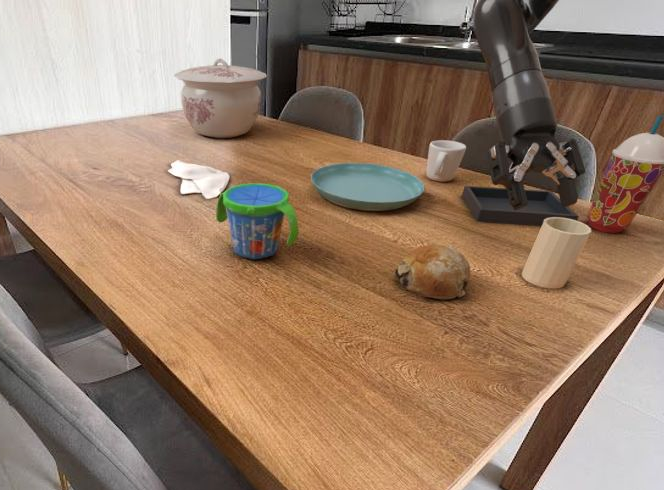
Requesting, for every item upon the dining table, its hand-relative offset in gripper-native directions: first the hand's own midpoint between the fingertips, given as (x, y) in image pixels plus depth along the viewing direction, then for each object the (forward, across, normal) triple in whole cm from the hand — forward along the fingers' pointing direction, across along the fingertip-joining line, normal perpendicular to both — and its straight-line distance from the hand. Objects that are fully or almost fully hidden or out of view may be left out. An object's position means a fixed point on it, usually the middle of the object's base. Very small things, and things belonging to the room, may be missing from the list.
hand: (545, 206), depth 69 cm
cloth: (-28, -48, +42) cm, 70 cm away
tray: (-7, +13, +21) cm, 26 cm away
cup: (-21, +8, +36) cm, 42 cm away
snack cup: (-1, -43, +15) cm, 46 cm away
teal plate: (-17, -14, +31) cm, 38 cm away
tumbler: (+10, 0, +4) cm, 11 cm away
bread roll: (+10, -19, +5) cm, 21 cm away
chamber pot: (-58, -37, +73) cm, 100 cm away
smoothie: (0, +26, +14) cm, 29 cm away
